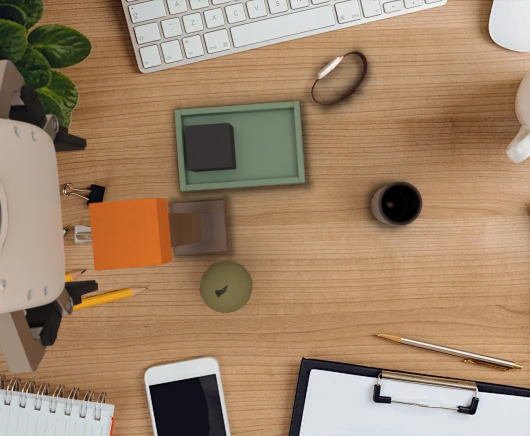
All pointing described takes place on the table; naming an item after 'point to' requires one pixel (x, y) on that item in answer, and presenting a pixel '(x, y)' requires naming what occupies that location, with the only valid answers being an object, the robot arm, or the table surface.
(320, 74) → the watch
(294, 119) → the holder
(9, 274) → the robot arm
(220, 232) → the stand
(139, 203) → the orange block
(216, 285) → the green pear
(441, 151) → the table surface
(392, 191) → the planter
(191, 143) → the pad
